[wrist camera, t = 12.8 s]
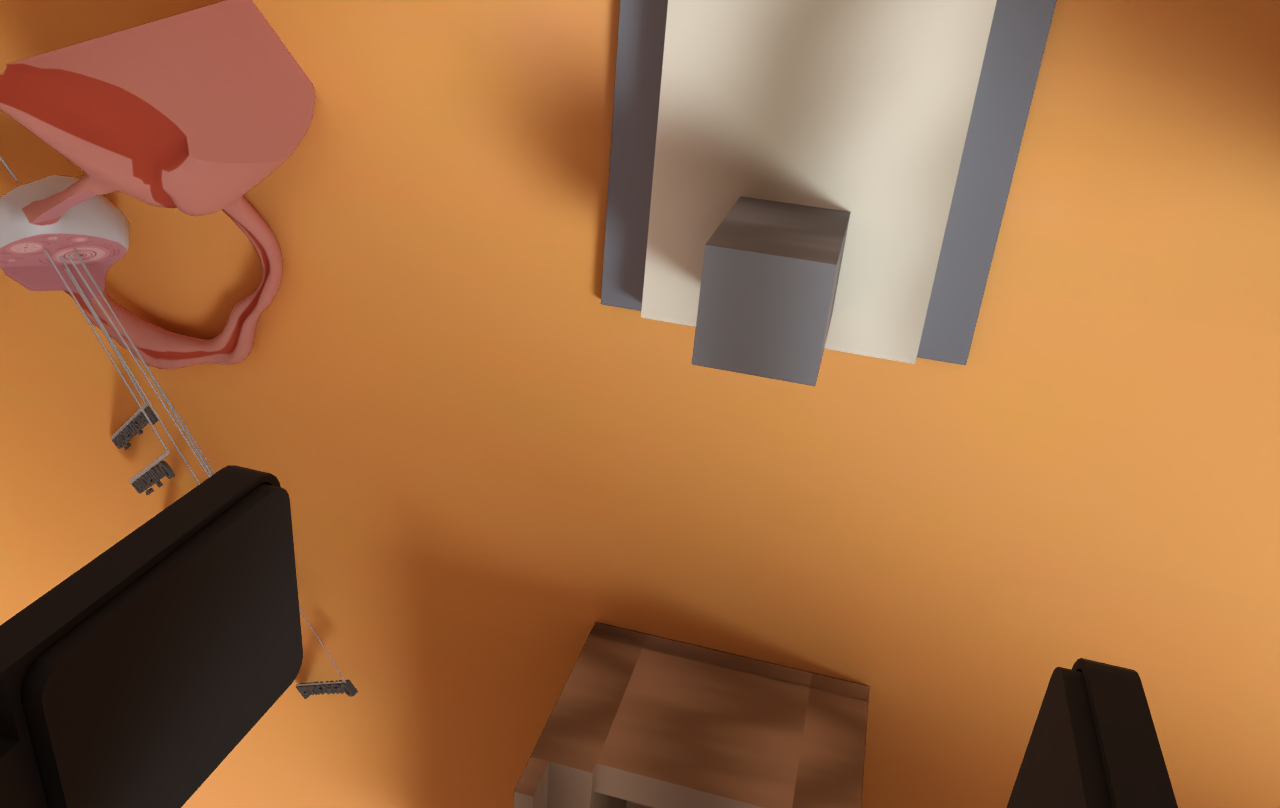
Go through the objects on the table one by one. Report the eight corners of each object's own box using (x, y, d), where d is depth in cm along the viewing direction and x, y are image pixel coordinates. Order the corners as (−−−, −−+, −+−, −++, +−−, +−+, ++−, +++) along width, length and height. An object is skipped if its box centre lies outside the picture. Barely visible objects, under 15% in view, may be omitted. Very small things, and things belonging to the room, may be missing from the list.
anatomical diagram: (-134, -60, 23) (462, 735, 28) (186, -121, 29) (637, 548, 33) (-151, 249, 38) (236, 729, 43) (61, 169, 44) (382, 601, 49)
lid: (1041, -216, 22) (1080, -268, 17) (915, 351, 28) (914, 442, 23) (697, -235, 24) (633, -289, 18) (649, 306, 30) (590, 383, 24)
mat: (1118, -254, 22) (1119, -256, 21) (965, 361, 28) (965, 365, 28) (641, -276, 24) (638, -279, 23) (603, 301, 30) (600, 304, 30)
